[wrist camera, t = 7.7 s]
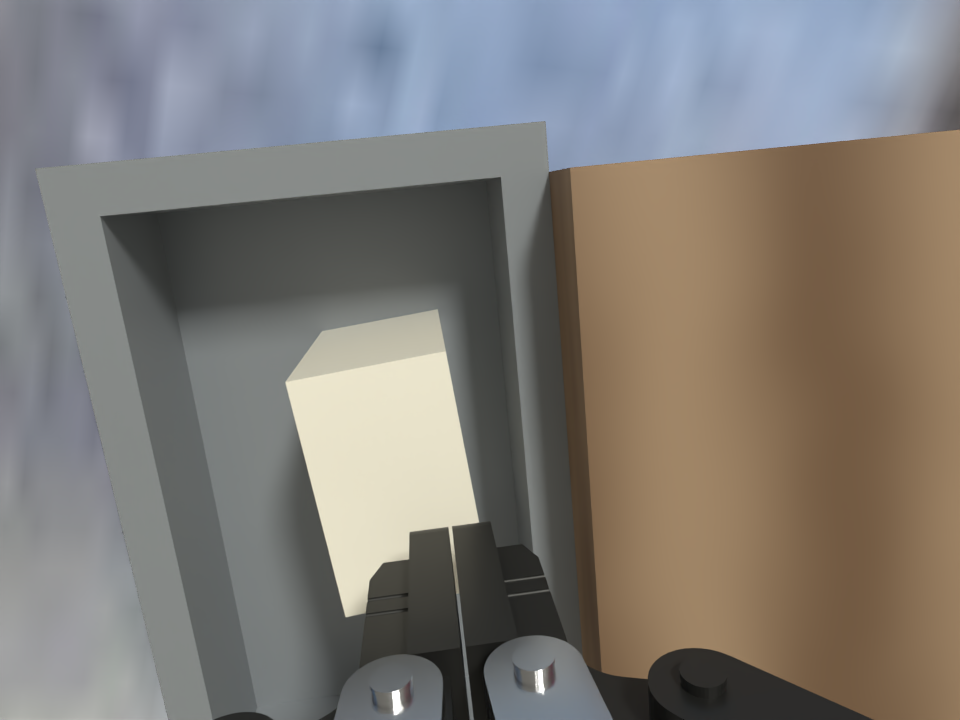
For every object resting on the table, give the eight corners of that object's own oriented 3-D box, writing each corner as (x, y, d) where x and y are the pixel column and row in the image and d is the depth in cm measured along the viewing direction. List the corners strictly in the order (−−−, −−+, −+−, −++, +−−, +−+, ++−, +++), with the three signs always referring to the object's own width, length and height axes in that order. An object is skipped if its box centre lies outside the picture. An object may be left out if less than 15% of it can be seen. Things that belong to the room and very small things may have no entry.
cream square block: (446, 351, 13) (285, 382, 13) (491, 586, 14) (345, 617, 14) (437, 309, 18) (321, 331, 17) (471, 486, 19) (363, 508, 19)
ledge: (917, 138, 19) (1145, 111, 13) (893, 593, 22) (1065, 735, 16) (520, 178, 18) (570, 167, 12) (557, 641, 21) (610, 808, 15)
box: (517, 138, 18) (545, 121, 14) (559, 669, 21) (590, 771, 18) (122, 175, 17) (35, 168, 13) (237, 716, 21) (196, 834, 17)
